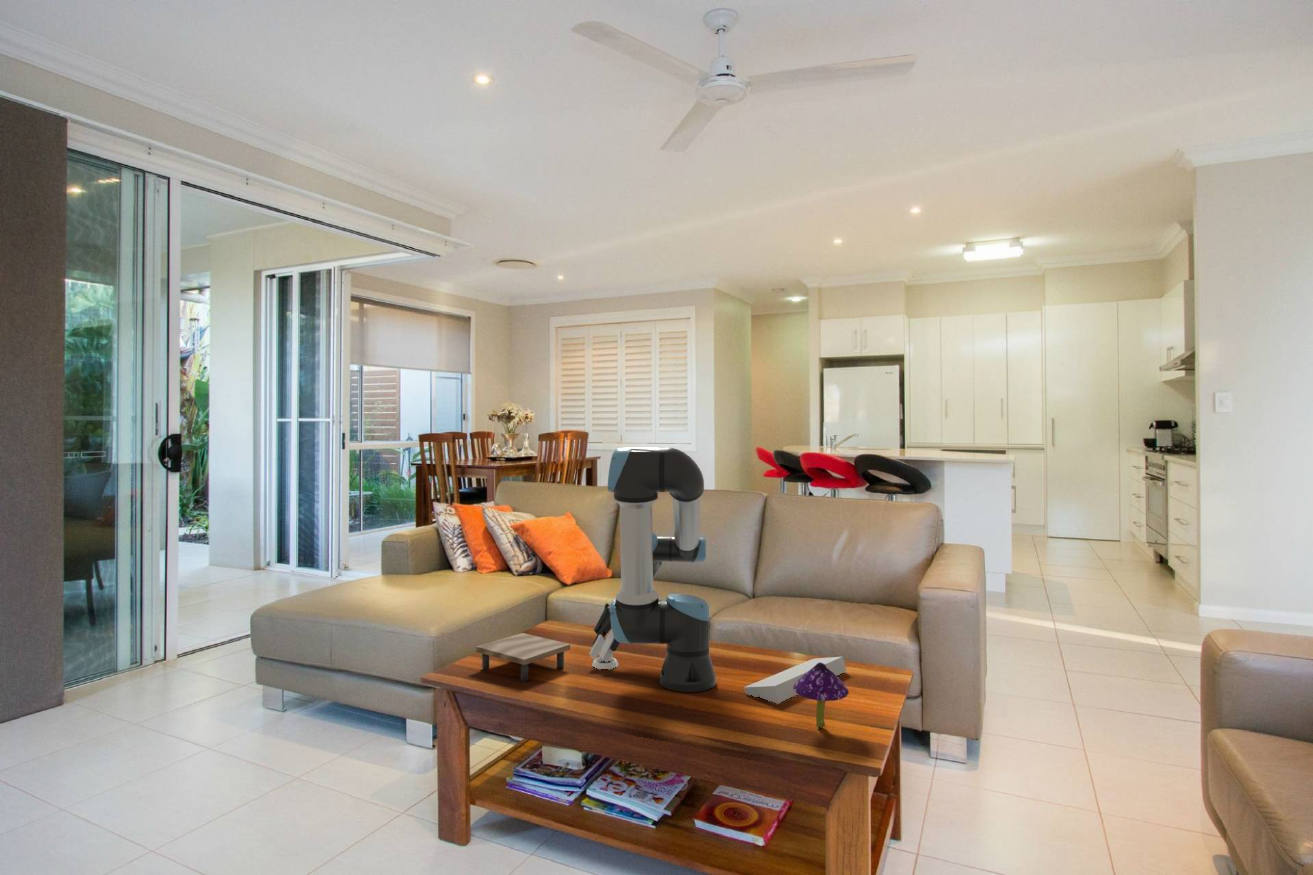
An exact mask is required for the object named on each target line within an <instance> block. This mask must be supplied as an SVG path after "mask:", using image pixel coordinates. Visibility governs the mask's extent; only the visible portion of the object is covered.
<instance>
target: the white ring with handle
mask: <svg viewBox="0 0 1313 875" xmlns="http://www.w3.org/2000/svg"><path fill="white" fill-rule="evenodd" d="M612 637H613V638H614V636H613V632H612V629H610V631H609V632H608V633H607V635H606V637H605V641H604V643H603V645H602V647H601V649H600V651H599V653H598V656H599V657H596V659H593V662H592V665H591V666H593V667H595V668H594V669H596V668H597V669H596V670H601V669H608V670H614V669H616V668H618V667H619V662H618V659H616V658H615V657H613V656H614V653H613V654H612V655H611V657H610V659H609V661H610V662H603V661H605V660H604V659H603V658H602V655H603V653H604V651H605V649H606V648H607V646H608V644H609V642H610V640H611V638H612ZM601 661H602V662H601ZM593 667H592V668H593ZM615 667H616V668H615ZM613 668H614V669H613Z"/></svg>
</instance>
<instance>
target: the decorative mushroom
mask: <svg viewBox="0 0 1313 875" xmlns="http://www.w3.org/2000/svg"><path fill="white" fill-rule="evenodd" d="M793 689H794V691H795V692H796V693H797V694H798V696H800V697H802V698H805V699H809V700H814V701H817V702H816V710H815V711H816V712H815V716H816V717H815V718H816V719H815V722H816V723H815V726H816V727H817V728H818V727H820V728H822V729H824V728H825V727H826V723H825V707H826V702H833V701H839V700H843V699H845V698H846V697H847V696H848V695H849V694H850V692H849V689H848V687H847V686H846V684H844V682H843V681H842V680H841V679H840V678H839V676H838V677H837V676H836V675H835V674H834V673H833V672H832V671H830V670H829V669H828V668H827V667H826V665H825V664H824V663H822V662H819V663H817V664H816V665H815V666H814V667H813V668H812V669H810V670H809V671H808V672H806V673H805V674H804V675H803V676H802V677H801V678H800V679H799V680H798V681H797V682H796V683H795V684H794V685H793ZM823 727H824V728H823ZM820 728H819V729H820Z"/></svg>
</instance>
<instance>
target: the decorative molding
mask: <svg viewBox="0 0 1313 875" xmlns="http://www.w3.org/2000/svg"><path fill="white" fill-rule="evenodd" d="M819 662H822V663H824V664H825V665H826V667H827V668H828V669H829V670H830V671H832V672H833V673H834V674H835V675H840V674H841V673H844V672H845V671H846V672H847V668H846V664H845V659H844V656H832V657H820V658H819V657H818V658H812V659H810V660H807V661H805V662H803V663H800V664H797V665H795V666H794V665H793V666H792V667H790V668H788V669H784V670H783V671H781V672H778V673H775V674H773V675H770V676H768V677H765V678H763V679H761V680H759V681H756V682H753V683H751V684H749V685H746V686H744V687H743V690H744V692H745V694H748V695H747V696H751V695H752V696H755V697H760V698H762V699H764V700H766V701H767V700H768V702H769V701H773V702H775V703H777V704H779V703H781V702H782V701H785V700H786V699H789V698H790V697H793V696H795V695H797V693H796V692H795V691H794V689H793V685H794V684H795V683H796V682H797V681H798V680H799V679H800V678H801V677H802V676H803V675H804V674H805V673H806V672H808V671H809V670H810V669H812V668H813V667H814V666H815V665H816V664H817V663H819ZM840 676H841V675H840ZM752 696H751V697H752ZM755 697H754V698H755ZM795 697H796V696H795ZM760 698H759V699H760ZM762 699H761V700H762ZM789 700H790V699H789ZM785 702H786V701H785ZM777 704H776V705H777ZM781 704H782V703H781ZM779 705H780V704H779Z"/></svg>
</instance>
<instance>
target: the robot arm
mask: <svg viewBox="0 0 1313 875" xmlns="http://www.w3.org/2000/svg"><path fill="white" fill-rule="evenodd" d="M704 490H705V480H704V475H703V473H702V471H701V468H700V467H699V466H698V464H697V463H696V461H695V460H693V458H692V457H691V456H689V455H688V454H686V452H684V451H682V450H681V449H677V448H674V447H643V446H642V447H639V446H636V447H635V446H634V447H633V446H630V447H628V446H627V447H617V448H616V449H614V451H613V453H612V455H611V458H610V464H609V469H608V477H607V491H608V492H610V493H613V500H614V501H615V502H616V503H617V504H618V505H619V521H620V522H619V523H620V524H619V525H620V526H619V527H620V528H619V530H620V532H619V534H620V584H621V585H620V589H619V590H618V591H617V592H616V593H615V598H614V599H612V600H611V601H610V604H609V603H608V602H607V603H605V604H604V608H603V611H602V613H601V616H600V618H599V619H598V621H597V623H596V625H595V626H594V628H593V631H594V633H595V634H596V637H595V639H594V640H593V642H592V645H593V646H592V647H591V650H590V651H589V652H588V655H589V656H590V657H591V658H592V660H595V659H596V658H598V657H597V656H599V652H600V650H601V647H602V645H603V643H604V641H605V640H606V637H607V636H608V634H609V632H610V630H612V632H613V636H614V638H613V637H612V638H611V640H610V642H609V644H608V646H607V648H606V649H605V651H604V653H603V655H602V658H603V659H604V660H605V662H604V663H609V662H608V661H609V659H610V657H611V655H612V654H613V655H614V653H615V652H616V651H617V650H618V648H619V646H620V643H622V644H630V645H634V644H637V645H639V644H640V645H641V644H642V645H666V653H665V654H666V655H665V657H664V661H663V664H662V667H661V670H660V673H659V683H660V685H661V686H662V688H665V689H666V690H669V691H670V690H671V691H674V692H678V693H680V692H681V693H697V692H698V693H699V692H703V691H704V692H705V691H708V690H711V689H713V688H714V687H715V686H716V685H717V683H716V679H717V678H716V676H717V675H716V672H715V670H714V666H713V663H712V659H711V656H710V620H711V616H710V606H709V602H707V601H706V600H705V599H703V598H701V597H699V596H697V595H691V594H687V593H669V594H668V595H667V596H666V598H665V599H660V597H659V593H658V591H657V590H655V588H654V586H653V585H654V579H655V578H656V575H657V574H658V572H659V570H660V569H661V567H662V565H663V562H668V563H669V562H674V563H677V562H678V563H679V562H681V563H698V562H699V563H701V562H705V561H706V557H707V556H706V554H707V540H706V538H705V536H704V537H703V536H701V529H700V528H701V527H700V526H701V497H702V496H703V494H704V492H705V491H704ZM659 493H668V494H669V495H670V496H671V498H672V517H673V536H657V534H656V533H655V532H654V531H653V504H654V503H655V502H657V500H659ZM710 688H711V689H710Z"/></svg>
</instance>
